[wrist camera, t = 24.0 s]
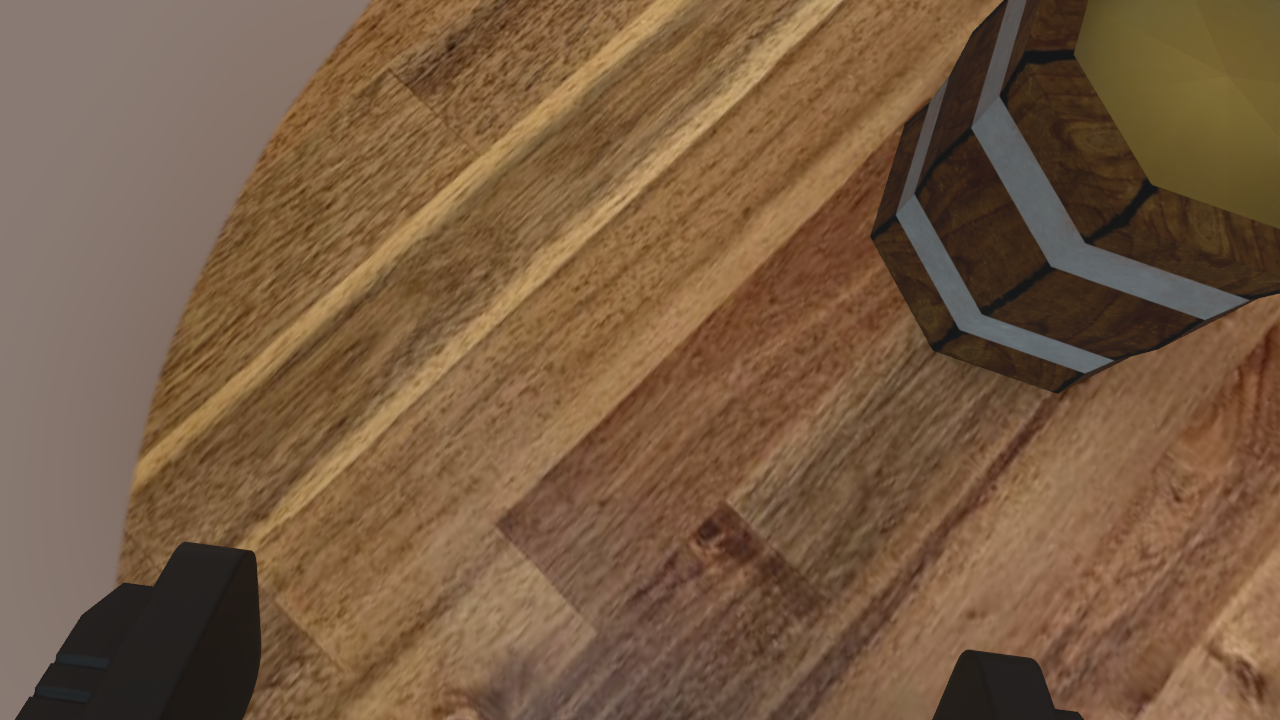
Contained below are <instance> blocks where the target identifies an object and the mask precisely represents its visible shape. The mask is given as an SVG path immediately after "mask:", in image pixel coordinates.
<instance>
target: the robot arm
mask: <svg viewBox="0 0 1280 720" xmlns="http://www.w3.org/2000/svg"><path fill="white" fill-rule="evenodd" d="M260 658H261V630H260V612H259V595H258V577H257V562H256V557H255V554H254V552H253V551H250V550H243V549H236V548H228V547H221V546H213V545H206V544H198V543H191V542H183V543H182V544H180V545H179V546H178V547H177V548H176V550H175V551H174V553H173V554H172V556H171V558H170V559H169V561H168V563H167V565H166V566H165V568H164V570H163V571H162V573H161V575H160V577H159V578H158V580H157V582H156V583H155V585H154V587H152V586H145V585H137V584H130V583H123V584H121V585H120V586H119V587H117V588H116V589H115V590H114V591H112V592H111V593H110V594H108V595H107V596H106V597H105V598H103V599H102V600H101V601H99V602H98V603H97V604H95V605H94V606H93V607H92V608H90V609H89V610H88V611H87V612H85V613H84V614H83V615H82V616H81V617H80V619H79V620H78V622H77V624H76V625H75V627H74V628H73V630H72V631H71V633H70V634H69V636H68V638H67V639H66V641H65V642H64V644H63V645H62V647H61V648H60V650H59V652H58V653H57V655H56V660H55V662H54V663H51V664H50V666H49V667H48V669H47V671H46V672H45V674H44V675H43V677H42V678H41V680H40V681H39V683H38V685H37V686H36V687H35V693H34V695H33V697H29V698H28V700H27V701H26V703H25V705H24V706H23V708H22V709H21V711H20V713H19V714H18V716H17V717H16V719H15V720H242V719H243V717H244V714H245V712H246V710H247V707H248V705H249V703H250V700H251V697H252V694H253V691H254V688H255V684H256V680H257V676H258V671H259V665H260ZM932 720H1084V719H1083V718H1082V717H1081V715H1080V714H1079V713H1078V712H1073V711H1066V710H1058V709H1055V708H1054V705H1053V702H1052V699H1051V696H1050V693H1049V691H1048V688H1047V685H1046V682H1045V679H1044V676H1043V673H1042V671H1041V668H1040V666H1039V665H1038V663H1037V662H1036V661H1035V660H1034V659H1032V658H1027V657H1019V656H1012V655H1004V654H997V653H990V652H982V651H975V650H965V651H964V652H963V653H962V654H961V655H960V657H959V659H958V661H957V663H956V665H955V667H954V670H953V672H952V674H951V677H950V679H949V682H948V684H947V686H946V689H945V691H944V693H943V696H942V698H941V700H940V703H939V705H938V707H937V710H936V712H935V714H934V717H933V719H932Z"/></svg>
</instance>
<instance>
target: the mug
mask: <svg viewBox="0 0 1280 720" xmlns="http://www.w3.org/2000/svg"><path fill="white" fill-rule="evenodd" d="M871 238H872V240H873V242H874V244H875V245H876V247H877V249H878V251H879V253H880V254H881V256H882V258H883V260H884V262H885V264H886V265H887V267H888V269H889V271H890V273H891V275H892V276H893V278H894V280H895V282H896V284H897V285H898V287H899V289H900V291H901V293H902V295H903V296H904V298H905V300H906V302H907V304H908V306H909V307H910V309H911V311H912V313H913V315H914V316H915V318H916V320H917V322H918V324H919V326H920V327H921V329H922V331H923V333H924V335H925V337H926V338H927V340H928V342H929V344H930V346H931V347H932V349H933V350H934V351H937V352H940V353H942V354H945V355H948V356H951V357H954V358H957V359H960V360H963V361H965V362H968V363H971V364H974V365H977V366H980V367H983V368H986V369H988V370H991V371H994V372H997V373H1000V374H1003V375H1006V376H1009V377H1011V378H1014V379H1017V380H1020V381H1023V382H1026V383H1029V384H1032V385H1034V386H1037V387H1040V388H1043V389H1046V390H1049V391H1052V392H1055V393H1057V394H1058V393H1060V392H1062V391H1063V390H1065V389H1067V388H1069V387H1071V386H1073V385H1075V384H1077V383H1079V382H1081V381H1083V380H1085V379H1087V378H1089V377H1091V376H1093V375H1095V374H1097V373H1099V372H1101V371H1103V370H1105V369H1107V368H1109V367H1111V366H1113V365H1115V364H1117V363H1119V362H1121V361H1123V360H1125V359H1127V358H1129V357H1131V356H1134V355H1138V354H1142V353H1145V352H1149V351H1153V350H1157V349H1159V348H1161V347H1163V346H1165V345H1167V344H1169V343H1171V342H1173V341H1175V340H1177V339H1179V338H1181V337H1183V336H1185V335H1187V334H1189V333H1191V332H1193V331H1195V330H1197V329H1199V328H1201V327H1203V326H1205V325H1207V324H1209V323H1211V322H1213V321H1215V320H1217V319H1219V318H1221V317H1223V316H1225V315H1226V314H1228V313H1230V312H1232V311H1234V310H1236V309H1238V308H1240V307H1242V306H1244V305H1246V304H1248V303H1250V302H1252V301H1254V300H1256V299H1258V298H1262V297H1266V296H1270V295H1275V294H1279V293H1280V0H1004V1H1003V2H1002V3H1001V4H1000V5H999V6H998V7H997V8H996V9H995V10H994V11H993V12H992V13H991V14H990V15H989V16H988V17H987V18H986V19H985V20H984V21H983V22H982V23H981V24H980V25H979V26H978V27H977V28H976V29H975V30H974V31H973V32H972V34H971V36H970V38H969V40H968V42H967V44H966V46H965V48H964V49H963V51H962V53H961V55H960V57H959V59H958V61H957V63H956V65H955V66H954V68H953V70H952V72H951V74H950V76H949V77H948V78H947V80H946V81H945V83H944V84H943V85H942V87H941V88H940V89H939V91H938V92H937V93H936V95H935V96H934V97H933V99H932V100H931V101H930V103H928V104H927V105H926V106H925V107H924V108H923V109H921V110H920V111H919V112H918V113H917V114H916V115H915V116H913V117H912V118H911V119H910V120H909V121H908V122H906V123H905V126H904V129H903V132H902V135H901V139H900V142H899V145H898V148H897V152H896V155H895V158H894V162H893V165H892V168H891V171H890V175H889V178H888V181H887V184H886V188H885V191H884V194H883V197H882V201H881V204H880V207H879V210H878V214H877V217H876V220H875V223H874V227H873V230H872V233H871Z"/></svg>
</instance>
